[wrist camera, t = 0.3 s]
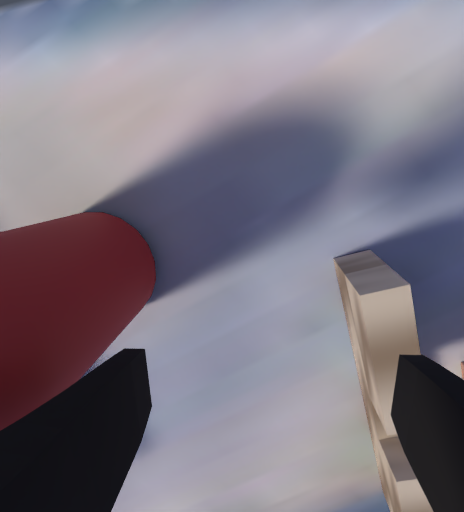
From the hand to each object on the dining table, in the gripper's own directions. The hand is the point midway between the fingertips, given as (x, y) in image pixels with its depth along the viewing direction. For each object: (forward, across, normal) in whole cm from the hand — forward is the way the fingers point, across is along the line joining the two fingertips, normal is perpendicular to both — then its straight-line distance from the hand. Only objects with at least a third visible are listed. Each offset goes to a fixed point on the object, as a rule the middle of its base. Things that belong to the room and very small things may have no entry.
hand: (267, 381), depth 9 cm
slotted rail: (+10, -7, +8) cm, 15 cm away
